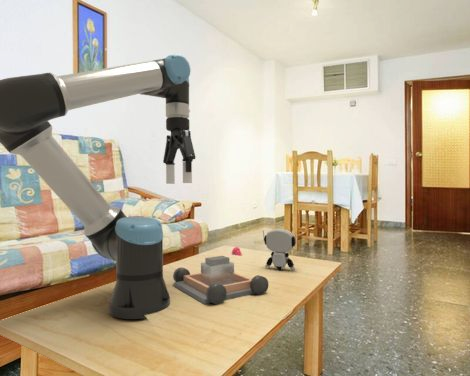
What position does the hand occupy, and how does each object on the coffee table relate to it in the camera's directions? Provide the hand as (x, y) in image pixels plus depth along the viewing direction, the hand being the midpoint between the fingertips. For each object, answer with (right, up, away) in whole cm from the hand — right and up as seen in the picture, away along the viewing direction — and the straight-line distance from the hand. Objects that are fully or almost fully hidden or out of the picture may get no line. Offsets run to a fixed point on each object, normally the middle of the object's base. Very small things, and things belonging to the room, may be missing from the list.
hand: (178, 183), depth 113 cm
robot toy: (+35, -32, +13) cm, 49 cm away
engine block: (+13, -30, -9) cm, 34 cm away
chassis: (+14, -32, -9) cm, 36 cm away
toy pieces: (+21, -32, +35) cm, 52 cm away
